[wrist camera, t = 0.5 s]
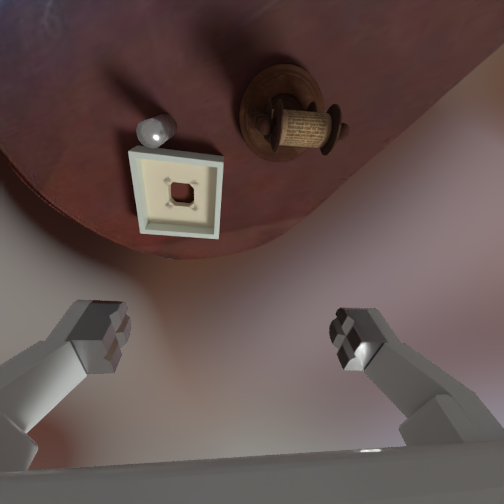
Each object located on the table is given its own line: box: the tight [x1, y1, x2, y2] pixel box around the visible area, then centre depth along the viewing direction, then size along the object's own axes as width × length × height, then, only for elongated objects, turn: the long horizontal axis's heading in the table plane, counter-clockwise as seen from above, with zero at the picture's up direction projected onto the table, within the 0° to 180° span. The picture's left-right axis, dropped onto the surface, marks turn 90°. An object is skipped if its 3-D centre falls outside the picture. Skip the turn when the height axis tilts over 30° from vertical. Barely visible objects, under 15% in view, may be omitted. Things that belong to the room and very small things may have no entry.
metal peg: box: [136, 114, 177, 149], centre depth 37 cm, size 4×4×11 cm
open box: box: [128, 145, 224, 239], centre depth 47 cm, size 16×16×5 cm
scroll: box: [239, 64, 349, 162], centre depth 34 cm, size 15×15×20 cm
